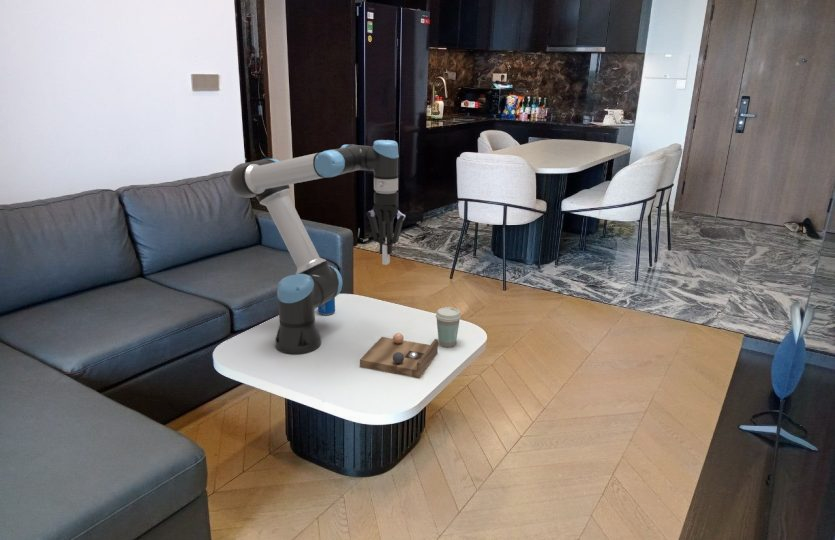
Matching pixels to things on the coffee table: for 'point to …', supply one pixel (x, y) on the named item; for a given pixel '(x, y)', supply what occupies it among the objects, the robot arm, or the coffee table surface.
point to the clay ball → (398, 338)
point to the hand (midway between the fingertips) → (386, 263)
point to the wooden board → (386, 348)
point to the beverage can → (327, 308)
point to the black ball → (398, 357)
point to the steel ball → (413, 356)
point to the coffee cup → (447, 326)
